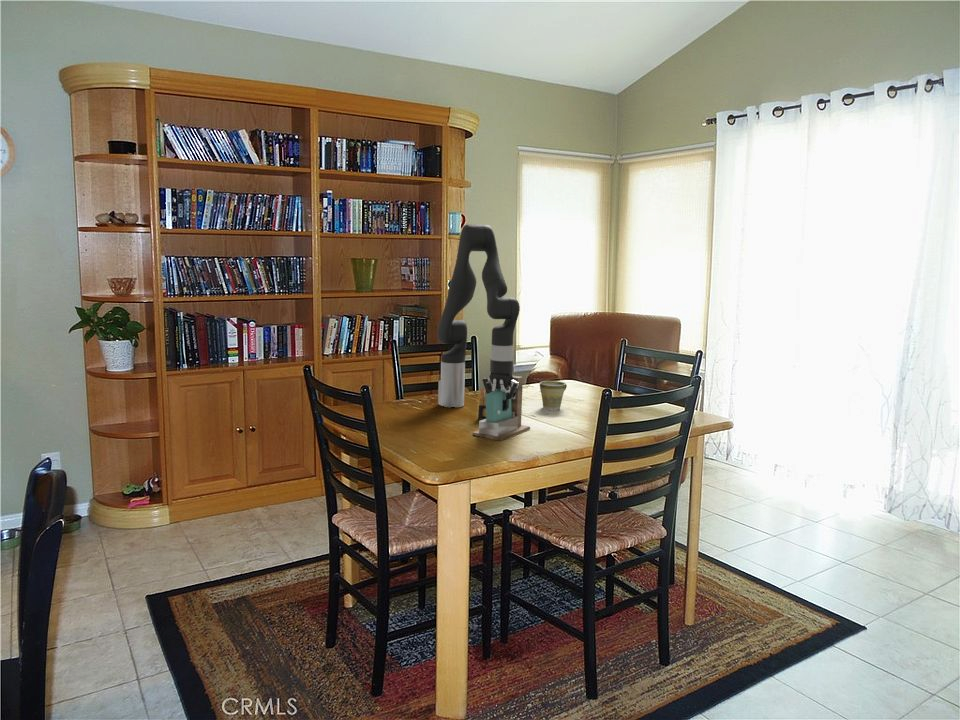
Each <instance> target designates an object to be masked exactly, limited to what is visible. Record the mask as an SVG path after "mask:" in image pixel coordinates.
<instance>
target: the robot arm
mask: <svg viewBox="0 0 960 720" xmlns="http://www.w3.org/2000/svg"><path fill="white" fill-rule="evenodd" d="M457 248H458V249H457V254H456V260H455V265H454V269H453V273H452V276H451V280H450V283H449V288H448V292H447V296H446V301H445V305H444V308H443V311H442V314H441V317H440V319H439V321H438V322H439V323H438V326H437V329H436V332H437V333H436V337H437V341H438V343H440V344H442V345H454V346H453V347H452V348H451V349H449V350H447V351H445V352H443V353H442V354H441V355H440V356H441V357H440V380H438V390H437V391H438V392H437V393H438V396H437V405H438V404H439V406H441V407H443V406H444V407H445V408H451V407H455V408H462V407H465V406H464V405H465V384H466V383H465V379H466V376H465V375H466V354H467V343H468V342H467V341H468V326H467V322H466V321H465V320H463V319H455V318H456V316H458V314H459V313H460V312H461V311H462V310H463V309H465V308H466V307H467V306H468V304H470V302H471V301H472V300H473V297H474V295H475V290H476V287H477V278H476V275H475V272H474V270H473V268H472V266H471V263H470V254H471V252H485V254H486V260H485V263H484V265H483V268H482V271H481V279H482V283H483V286H484V290H485V293H486V311H487V315H488V316H489V318H491V319H493V320H504V322H503V323H502V324H501V325H498V326H494V327H493V328H492V329H491V347H490V358H489V360H490V362H489V371H490V374H489V377H484V378H482V383H483V386H484V387H483V388H484V391H485V390H486V393H487V394H488V393H490V392H493V391H496V390H498V389H501V392H502V393H503V399H504V400H503V407H502V410H503V411H507V409H508V408H509V399H511V398H514V397H515V395H516V393H517V390H518V388H519V386H520V382H516V381H514V380H513V376H514V375H513V373H514V357H515V356H514V333H515V332H514V331H515V330H516V329H515V328H516V324H517V321H518V318H519V314H520V312H521V311H520V310H521V306H520V303H519V300H517V299H516V298H515V297H511V296H509V297H505V296H506V295H507V294H508V293H507V292H508V286H507V283H506V280H505V277H504V275H503V272H502V269H501V264H500V259H499V253H498V252H499V251H498V247H497V241H496V237H495V232H494V230H493V228H492V227H491V226H490V225H488V224H477V223H476V224H474V223H473V224H472V223H471V224H469V223H468V224H464V226H463V227H462V228H461V231H460V236H459V242H458V247H457ZM511 383H512V385H511V387H512V388H511V391H510V384H511ZM505 389H506V390H505ZM509 392H510V393H509Z"/></svg>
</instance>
